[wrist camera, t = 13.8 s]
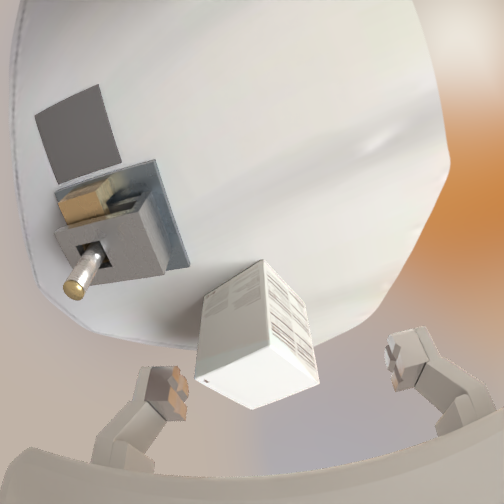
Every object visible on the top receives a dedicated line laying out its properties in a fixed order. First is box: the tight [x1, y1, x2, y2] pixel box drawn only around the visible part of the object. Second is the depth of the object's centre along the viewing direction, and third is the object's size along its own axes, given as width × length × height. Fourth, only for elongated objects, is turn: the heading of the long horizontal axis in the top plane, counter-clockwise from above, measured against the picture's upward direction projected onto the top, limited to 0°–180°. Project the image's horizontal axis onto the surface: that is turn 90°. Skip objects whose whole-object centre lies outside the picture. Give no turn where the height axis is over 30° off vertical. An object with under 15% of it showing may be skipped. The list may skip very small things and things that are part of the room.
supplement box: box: [194, 260, 320, 410], centre depth 47 cm, size 13×13×18 cm
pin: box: [63, 240, 106, 300], centre depth 39 cm, size 3×3×14 cm
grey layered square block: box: [54, 160, 190, 286], centre depth 42 cm, size 18×18×8 cm
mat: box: [35, 84, 122, 184], centre depth 36 cm, size 12×12×1 cm
